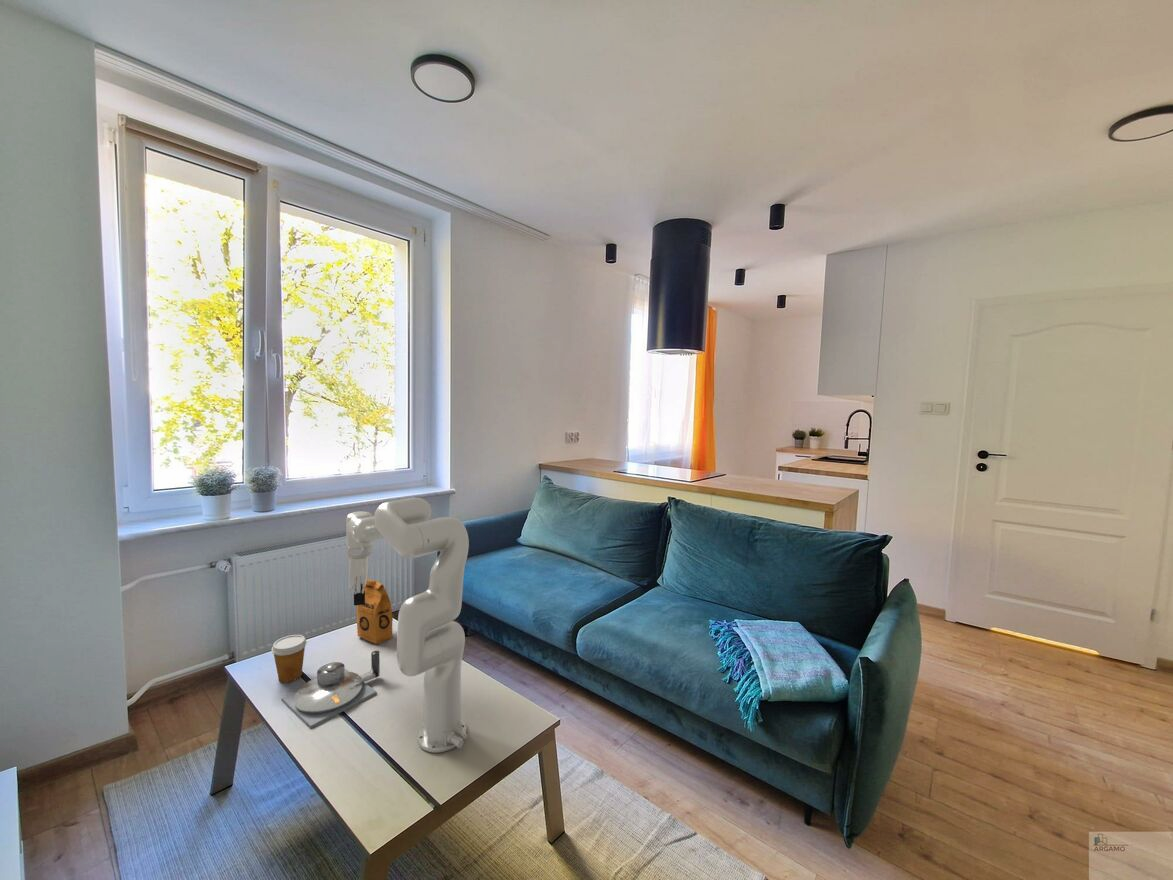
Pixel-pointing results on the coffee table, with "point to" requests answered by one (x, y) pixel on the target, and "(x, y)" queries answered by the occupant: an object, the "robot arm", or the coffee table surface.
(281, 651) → the disposable coffee cup
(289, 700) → the plinth
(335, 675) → the cover
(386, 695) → the coffee table surface
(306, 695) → the turntable
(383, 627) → the coffee package
